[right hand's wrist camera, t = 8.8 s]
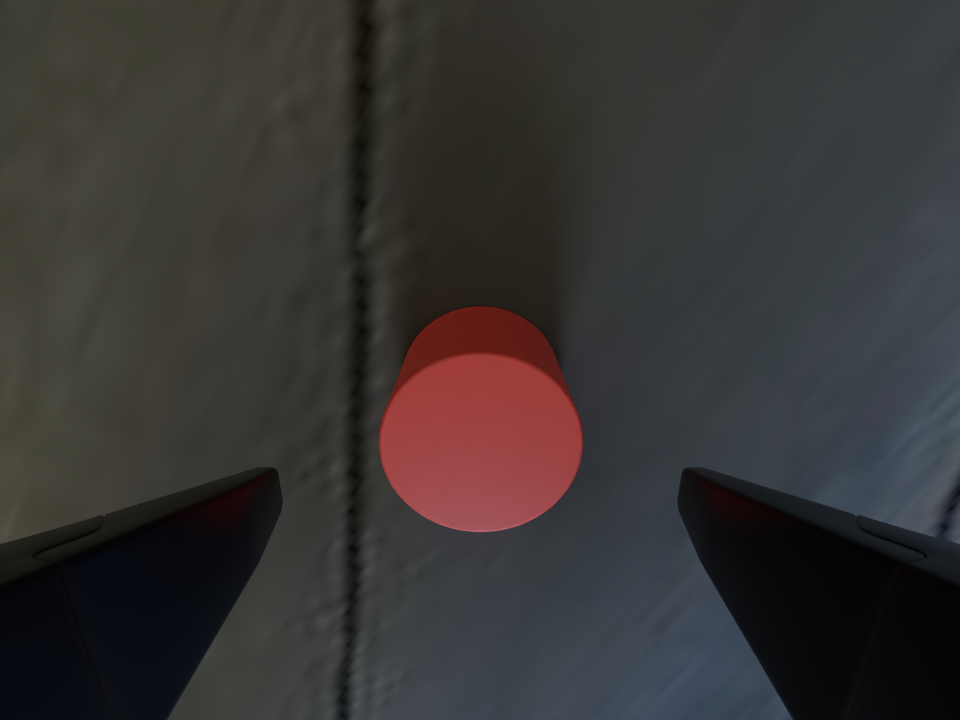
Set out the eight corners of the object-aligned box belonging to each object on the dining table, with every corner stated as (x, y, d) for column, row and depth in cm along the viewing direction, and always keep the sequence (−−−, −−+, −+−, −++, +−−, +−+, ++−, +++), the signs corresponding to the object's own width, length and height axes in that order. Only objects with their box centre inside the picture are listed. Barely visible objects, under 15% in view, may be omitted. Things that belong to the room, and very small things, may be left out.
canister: (370, 360, 17) (336, 422, 13) (505, 274, 16) (514, 311, 12) (459, 474, 18) (454, 562, 14) (587, 402, 17) (620, 474, 13)
